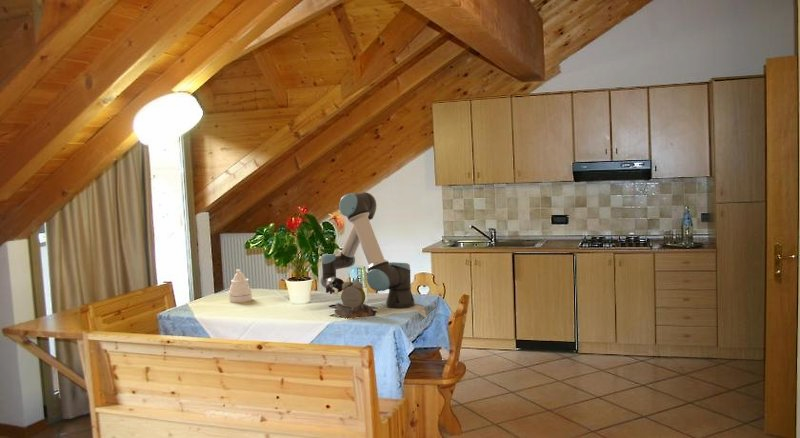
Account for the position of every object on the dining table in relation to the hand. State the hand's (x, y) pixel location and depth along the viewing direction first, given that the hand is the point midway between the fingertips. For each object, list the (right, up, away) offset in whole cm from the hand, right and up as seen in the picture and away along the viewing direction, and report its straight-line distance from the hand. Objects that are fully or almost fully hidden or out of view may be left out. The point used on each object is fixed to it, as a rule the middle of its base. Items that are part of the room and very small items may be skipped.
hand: (349, 290), depth 352 cm
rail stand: (+2, -12, -2) cm, 12 cm away
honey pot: (-67, -11, +46) cm, 82 cm away
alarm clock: (+2, -10, -4) cm, 11 cm away
